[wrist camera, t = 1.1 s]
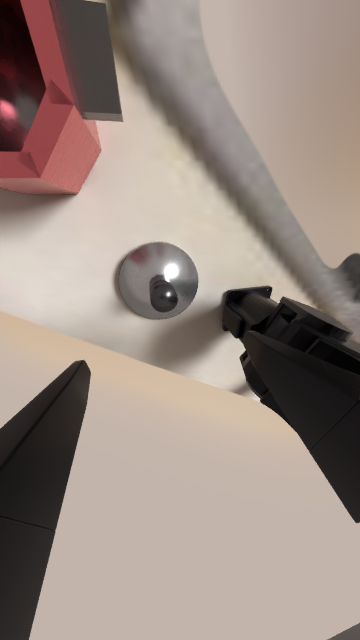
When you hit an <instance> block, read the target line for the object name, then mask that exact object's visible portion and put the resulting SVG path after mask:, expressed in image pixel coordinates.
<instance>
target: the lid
mask: <svg viewBox="0 0 360 640" xmlns="http://www.w3.org/2000/svg"><path fill="white" fill-rule="evenodd" d="M119 288H120V292H121V295H122V297H123V299H124V301H125V302H126V304H127V305H128V306H129V307H130V308H131V309H132V310H133V311H135V312H136V313H138V314H139V315H141V316H144V317H146V318H150V319H167V318H171V317H174V316H176V315H178V314H180V313H181V312H183V311H184V310H185V309H186V308H187V307H188V306H189V305H190V304H191V302H192V301H193V299H194V297H195V295H196V292H197V288H198V274H197V270H196V267H195V265H194V263H193V261H192V260H191V258H190V257H189V256H188V255H187V254H186V253H185V252H184V251H183V250H181V249H180V248H178V247H177V246H175V245H173V244H170V243H167V242H149V243H146V244H143V245H141V246H139V247H137V248H136V249H134V250H133V251H132V252H131V253H130V254H129V255H128V256H127V258H126V259H125V261H124V263H123V265H122V267H121V270H120V274H119Z"/></svg>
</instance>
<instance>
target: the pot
mask: <svg viewBox="0 0 360 640" xmlns="http://www.w3.org/2000/svg"><path fill="white" fill-rule="evenodd" d="M95 120H101V121H120V122H123V117H122V110H121V104H120V97H119V90H118V83H117V76H116V70H115V63H114V56H113V49H112V42H111V36H110V29H109V22H108V16H107V11H106V5H105V3H98V2H92V1H85V0H0V188H3V189H8V190H12V191H17V192H21V193H25V194H78V193H79V191H80V189H81V187H82V185H83V183H84V182H85V180H86V178H87V176H88V174H89V172H90V171H91V169H92V167H93V165H94V163H95V161H96V160H97V158H98V156H99V154H100V152H101V146H100V142H99V137H98V132H97V127H96V123H95Z"/></svg>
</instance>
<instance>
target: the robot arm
mask: <svg viewBox="0 0 360 640" xmlns="http://www.w3.org/2000/svg"><path fill="white" fill-rule="evenodd" d="M268 289H269V290H268ZM267 290H268V291H267ZM271 292H272V287H270V286H262V287H253V288H243V289H234V290H229V291H228V292H227V296H226V303H225V306H224V311H223V318H222V322H223V325H222V329H223V330H224V331H230V332H231V333H232V335H233V336H234V337H235V338H236V339H237V338H239V339H240V341H241V342H242V343H243V344H244V347H245V349H246V350H245V352H244V353H243V354H242V355H241V356H240V361H241V364H242V367H243V370H244V373H245V377H246V382H247V383H248V385H249V387H250V388H251V390H252V391H253V392H254V393H255V394H256V395H257V396H258V397H259V398H261V399H260V402H261V403H262V404H264V405H266V406H267V407H269V408H271V409H272V410H273V411H274V412H276V413H277V414H278V415H280V416H281V417H282V418H283V419H284V420H285V421H286V422H287V423H288V424H289V425H290V426H291V427H292V428H293V429H294V430H295V431H296V432H297V433H298V435H299V436H300V438H301V439H302V441H303V442H304V444H305V446H306V447H307V449H308V450H309V452H310V454H311V455H312V457H313V458H314V460H315V461H316V463H317V464H318V466H319V468H320V469H321V471H322V472H323V474H324V475H325V477H326V478H327V480H328V482H329V483H330V485H331V486H332V488H333V489H334V491H335V492H336V494H337V495H338V497H339V498H340V500H341V501H342V503H343V505H344V506H345V508H346V509H347V511H348V512H349V514H350V515H351V517H352V518H353V520H354V521H355V522H356V523H360V344H359V343H357V342H356V341H354V340H352V339H350V338H349V337H350V336H351V335H352V334H353V332H352V331H351V330H349V329H348V328H347V327H345V326H344V325H343V324H341V323H340V322H338V321H337V320H336V319H334V318H333V317H331V316H329V315H327V314H325V313H323V312H321V311H319V310H317V309H315V308H313V307H310V306H308V305H305V304H302V303H300V302H297V301H294V300H292V299H289V298H286V297H284V296H283V297H282V298H281V300H280V301H281V302H280V303H279V304H278V303H277V302H275V301H273V300H272V299H270V296H271ZM231 293H232V294H231ZM230 294H231V295H230ZM90 376H91V372H90V369H89V367H88V365H87V363H86V362H85V361H84V360H80V361H75V362H74V363H73V364H71V365H70V366H69V367H68V368H67V369H66V370H65V371H64V372H63V373H62V374H60V375H59V376H58V377H57V378H56V379H55V380H54V381H53V382H52V383H50V384H49V385H48V386H47V387H46V388H45V389H44V390H43V391H42V392H41V393H39V394H38V395H37V396H36V397H35V398H34V399H33V400H32V401H30V402H29V403H28V404H27V405H26V406H25V407H24V408H23V409H22V410H20V411H19V412H18V413H17V414H16V415H15V416H14V417H13V418H12V419H11V420H9V421H8V422H7V423H6V424H5V425H4V426H3V427H2V428H1V429H0V640H29V637H30V632H31V628H32V624H33V620H34V616H35V612H36V608H37V604H38V600H39V596H40V592H41V588H42V584H43V580H44V576H45V572H46V568H47V564H48V560H49V556H50V551H51V548H52V544H53V539H54V535H55V530H56V527H57V522H58V519H59V515H60V511H61V507H62V502H63V498H64V494H65V490H66V486H67V482H68V478H69V474H70V470H71V466H72V462H73V458H74V454H75V450H76V446H77V442H78V438H79V434H80V430H81V426H82V422H83V417H84V414H85V410H86V405H87V399H88V392H89V384H90ZM328 640H360V623H359V624H357V625H355V626H353V627H351V628H349V629H347V630H345V631H343V632H341V633H339V634H338V635H336V636H334V637H332V638H330V639H328Z"/></svg>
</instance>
